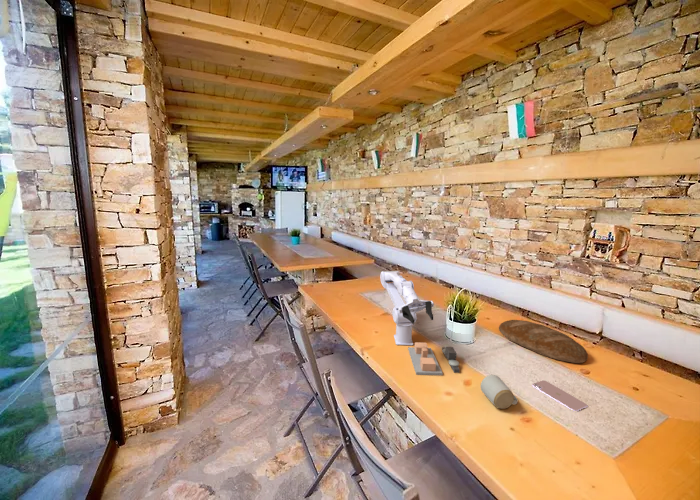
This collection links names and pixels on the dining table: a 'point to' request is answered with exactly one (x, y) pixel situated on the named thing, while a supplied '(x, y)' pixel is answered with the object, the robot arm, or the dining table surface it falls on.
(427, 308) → the robot arm
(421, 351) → the display stand
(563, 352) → the bread
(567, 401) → the mobile phone
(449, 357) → the stacked ball block column
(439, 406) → the dining table surface
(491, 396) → the ceramic mug
